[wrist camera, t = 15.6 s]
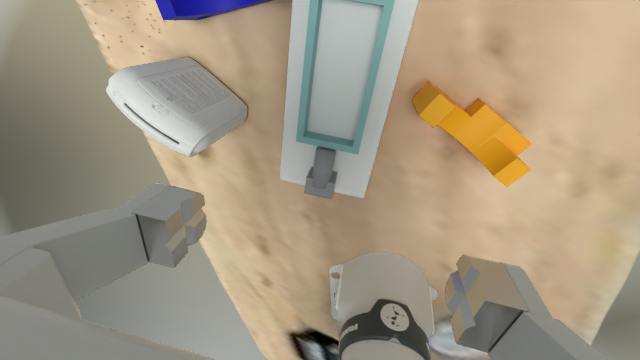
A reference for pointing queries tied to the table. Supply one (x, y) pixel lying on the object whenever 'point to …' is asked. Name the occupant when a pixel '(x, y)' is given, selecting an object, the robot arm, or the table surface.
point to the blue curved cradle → (200, 8)
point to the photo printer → (177, 103)
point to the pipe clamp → (476, 132)
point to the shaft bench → (340, 90)
